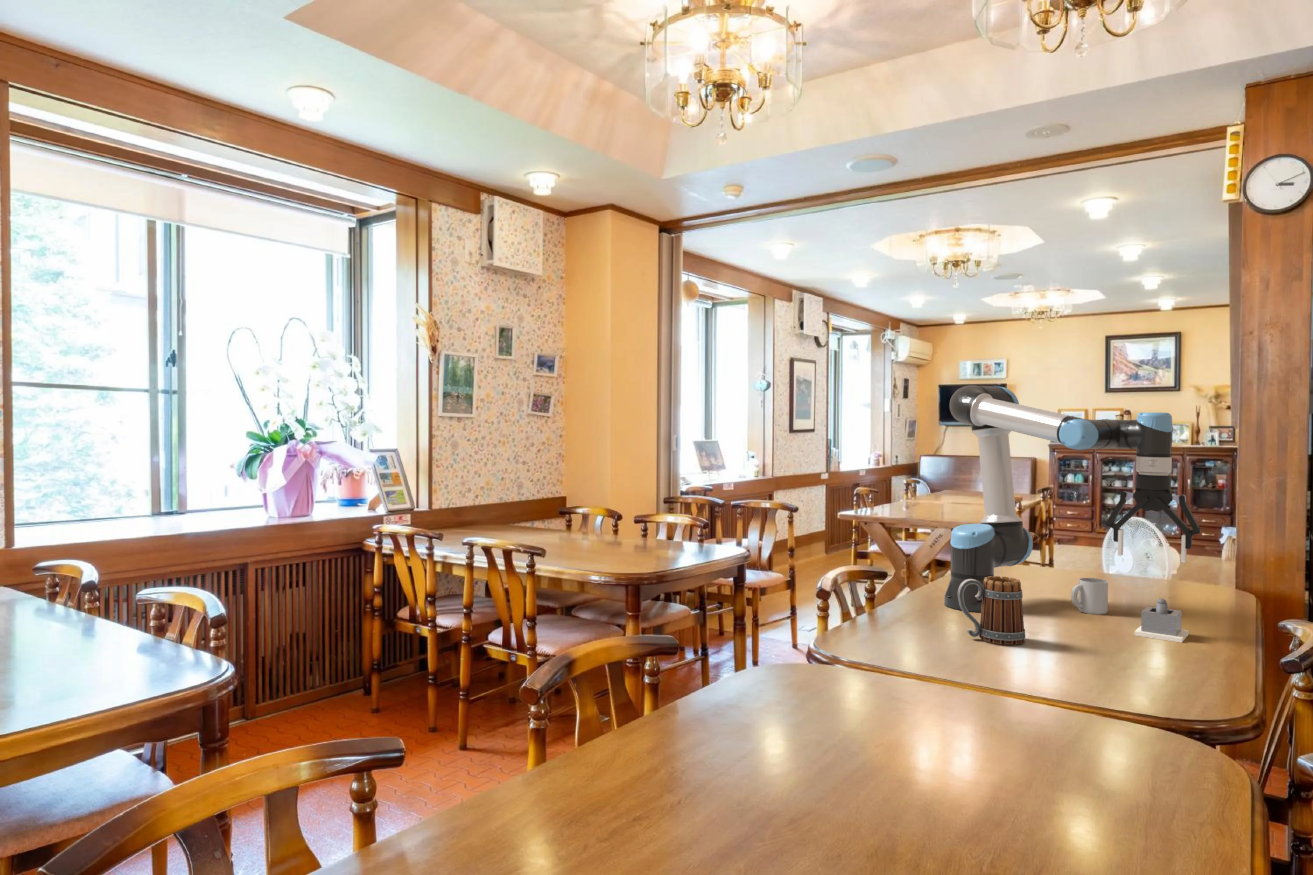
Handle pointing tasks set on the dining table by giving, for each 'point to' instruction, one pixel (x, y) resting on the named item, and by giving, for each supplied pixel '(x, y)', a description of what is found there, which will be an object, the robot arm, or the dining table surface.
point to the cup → (1091, 596)
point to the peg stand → (1162, 608)
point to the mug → (997, 610)
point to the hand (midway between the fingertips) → (1151, 558)
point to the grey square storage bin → (1161, 621)
